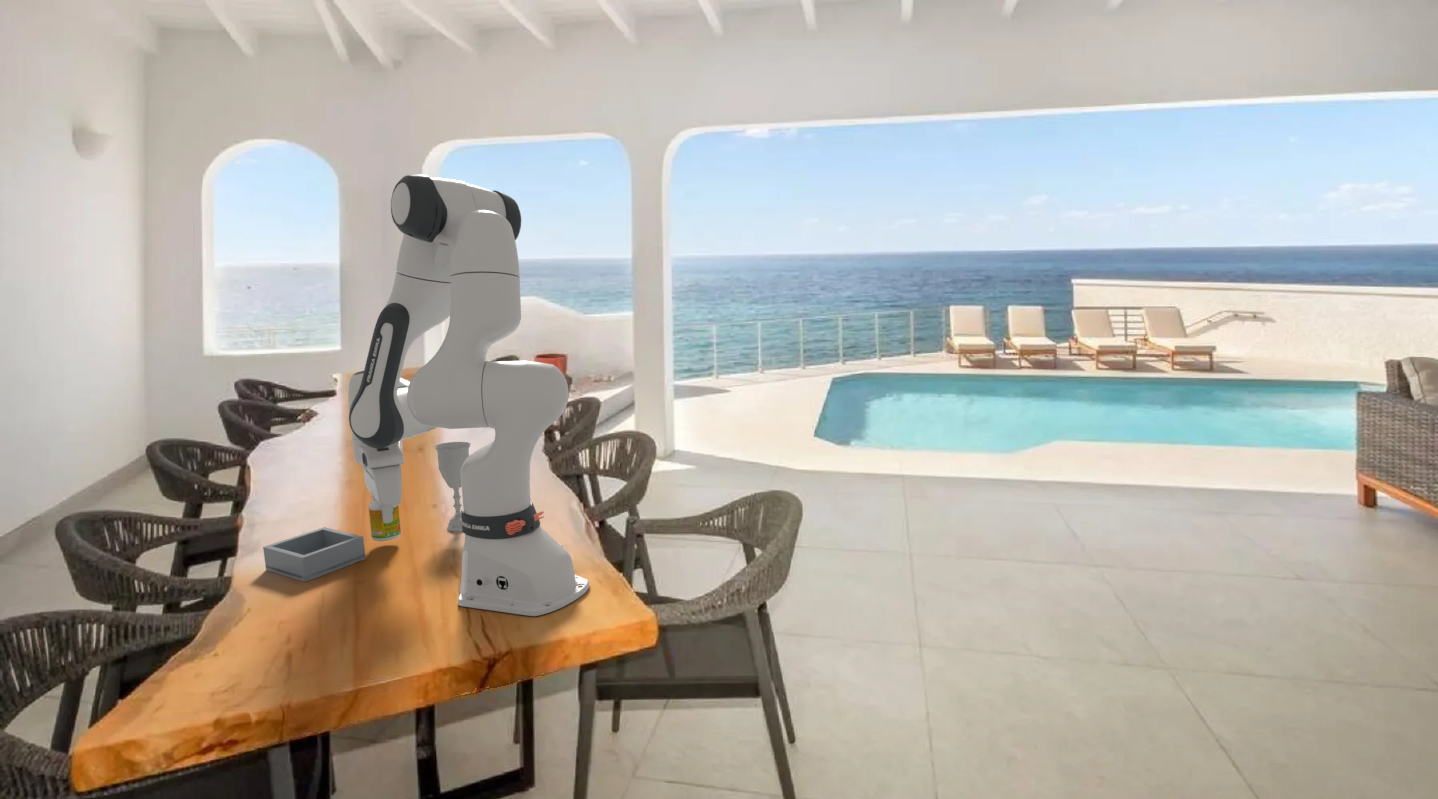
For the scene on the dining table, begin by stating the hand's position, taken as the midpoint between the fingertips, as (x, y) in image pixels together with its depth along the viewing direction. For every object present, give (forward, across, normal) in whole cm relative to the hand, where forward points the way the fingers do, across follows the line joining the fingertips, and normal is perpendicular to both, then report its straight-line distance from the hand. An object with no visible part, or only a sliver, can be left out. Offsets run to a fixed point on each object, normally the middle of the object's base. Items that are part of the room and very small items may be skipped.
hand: (384, 517), depth 149 cm
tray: (+6, +3, -13) cm, 14 cm away
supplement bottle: (+4, 0, 0) cm, 4 cm away
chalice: (+6, -2, +15) cm, 16 cm away
